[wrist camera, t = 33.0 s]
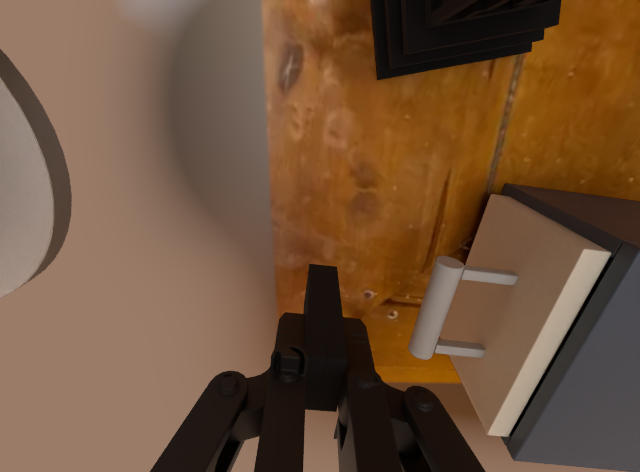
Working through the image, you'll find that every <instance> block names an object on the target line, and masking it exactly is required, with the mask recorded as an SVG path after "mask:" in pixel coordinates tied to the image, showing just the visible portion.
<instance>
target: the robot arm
mask: <svg viewBox="0 0 640 472" xmlns="http://www.w3.org/2000/svg"><path fill="white" fill-rule="evenodd" d="M337 406H338V411H339V416H338V420H337V425H336V429H335V433H334V439H337V440H338V456H339V472H485V470H484V469H483V467H482V466H481V464H480V463H479V461H478V459H477V458H476V456H475V455H474V453H473V452H472V450H471V448H470V447H469V445H468V444H467V442H466V441H465V439H464V438H463V436H462V434H461V433H460V431H459V430H458V428H457V427H456V425H455V424H454V422H453V420H452V419H451V417H450V416H449V414H448V413H447V411H446V410H445V408H444V406H443V405H442V404H441V402H440V400H439V399H438V398H437V397H436V395H435V394H434V393H432V392H431V391H430V390H428V389H426V388H423V387H420V386H412V387H409V388H408V389H407V390H406V391H405V392H404V391H401V390H398V389H395V388H393V387H391V386H389V385H387V384H386V383H384V382H383V381H382V380H381V377H380V376H379V375H378V374H377V373H376V371H375V368H374V363H373V358H372V353H371V348H370V344H369V339H368V334H367V329H366V326H365V325H364V324H363V322H362V321H361V319H355V318H345V317H343V315H342V307H341V298H340V289H339V281H338V272H337V267H334V266H325V265H316V264H309V271H308V279H307V286H306V294H305V301H304V314H297V313H287V312H285V313H284V314H283V315H282V317H281V318H280V319H279V324H278V330H277V336H276V344H275V349H274V351H273V353H272V355H271V366H270V368H269V369H268V370H267V371H266V372H264V373H263V374H261V375H258V376H255V377H250V378H245V376H244V375H243V374H241V373H239V372H235V371H227V372H222V373H220V374H219V375H217V376H215V377H214V378H213V379H212V380H211V382H210V383H209V385H208V386H207V388H206V389H205V391H204V392H203V393H202V395H201V397H200V398H199V399H198V401H197V402H196V404H195V405H194V407H193V408H192V410H191V411H190V413H189V415H188V416H187V417H186V419H185V420H184V422H183V423H182V425H181V426H180V428H179V429H178V431H177V432H176V434H175V435H174V437H173V438H172V440H171V441H170V443H169V444H168V446H167V447H166V449H165V450H164V452H163V453H162V455H161V456H160V457H159V459H158V461H157V462H156V463H155V465H154V466H153V468H152V469H151V471H150V472H230V471H231V469H232V467H233V465H234V463H235V461H236V458H237V456H238V454H239V452H240V449H241V447H242V445H243V443H244V440H247V439H250V438H254V437H258V436H260V437H259V444H258V450H257V456H256V462H255V469H254V472H303V454H304V423H305V409H308V410H320V411H334V412H336V410H337Z"/></svg>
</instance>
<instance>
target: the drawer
mask: <svg viewBox="0 0 640 472" xmlns="http://www.w3.org/2000/svg"><path fill="white" fill-rule="evenodd" d="M610 255H611V252H610V251H608V250H606V249H604V248H603V247H601V246H599V245H597V244H595V243H593V242H592V241H590V240H588V239H586V238H584V237H582V236H581V235H579V234H577V233H575V232H573V231H571V230H570V229H568V228H566V227H564V226H562V225H561V224H559V223H557V222H555V221H553V220H551V219H550V218H548V217H546V216H544V215H542V214H540V213H539V212H537V211H535V210H533V209H531V208H529V207H528V206H526V205H524V204H522V203H520V202H518V201H517V200H515V199H513V198H511V197H509V196H503V195H496V194H491V195H490V198H489V201H488V203H487V206H486V209H485V212H484V214H483V217H482V220H481V223H480V225H479V228H478V231H477V234H476V237H475V239H474V242H473V245H472V248H471V250H470V253H469V256H468V259H467V261H466V264H465V265H464V264H463V263H462V262H460V261H459V260H457V259H455V258H452V257H448V256H438V257H437V258H436V260H435V263H434V266H433V269H432V273H431V276H430V279H429V282H428V285H427V288H426V292H425V295H424V298H423V301H422V304H421V307H420V311H419V314H418V317H417V320H416V323H415V326H414V330H413V333H412V336H411V339H410V342H409V345H408V348H409V351H410V352H411V354H412V355H414V356H415V357H417V358H419V359H429V358H431V357H432V355H433V352H434V353H440V354H448V355H449V357H450V359H451V361H452V363H453V365H454V367H455V369H456V371H457V373H458V375H459V378H460V380H461V382H462V384H463V386H464V388H465V390H466V392H467V394H468V396H469V398H470V400H471V402H472V404H473V406H474V409H475V411H476V413H477V415H478V417H479V419H480V421H481V423H482V425H483V427H484V429H485V431H486V433H487V435H494V436H504V437H508V436H509V434H510V432H511V430H512V429H513V427H514V425H515V423H516V422H517V420H518V418H519V416H520V415H521V413H522V411H523V410H524V412H525V413H526V411H527V409H528V407H529V406H530V404H531V402H532V400H533V399H534V397H535V395H536V393H537V392H538V390H539V388H540V386H541V385H542V383H543V381H544V379H545V378H546V376H547V374H546V373H544V372H545V370H546V368H547V367H548V365H549V363H550V361H551V360H552V358H553V356H554V354H555V353H556V351H557V349H558V347H559V345H560V344H561V342H562V340H563V338H564V337H565V335H566V333H567V331H568V330H569V328H570V326H571V324H572V322H573V321H574V319H575V317H576V315H577V314H578V312H579V310H580V308H581V307H582V305H583V303H584V301H585V299H586V298H587V296H588V294H589V292H590V291H591V289H592V287H593V285H594V284H595V282H596V280H597V278H598V276H599V275H600V273H601V272H602V273H603V274H605V273H606V271H607V269H608V267H609V266H610V264H611V262H612V260H613V259H614V258H612V257H611V256H610ZM459 280H460V281H459ZM458 283H459V284H458ZM456 288H457V289H456ZM455 291H456V292H455ZM454 294H455V295H454ZM452 299H453V300H452ZM451 302H452V303H451ZM450 305H451V306H450ZM448 310H449V311H448ZM447 313H448V314H447ZM446 316H447V317H446ZM443 324H444V325H443ZM442 327H443V328H442ZM439 335H440V338H441V339H438V338H439Z"/></svg>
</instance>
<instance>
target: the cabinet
mask: <svg viewBox="0 0 640 472" xmlns="http://www.w3.org/2000/svg"><path fill="white" fill-rule="evenodd" d="M501 195H503V196H509V197H511V198H513V199H515V200H517V201H518V202H520V203H522V204H524V205H526V206H528V207H529V208H531V209H533V210H535V211H537V212H539V213H540V214H542V215H544V216H546V217H548V218H550V219H551V220H553V221H555V222H557V223H559V224H561V225H562V226H564V227H566V228H568V229H570V230H571V231H573V232H575V233H577V234H579V235H581V236H582V237H584V238H586V239H588V240H590V241H592V242H593V243H595V244H597V245H599V246H601V247H603V248H604V249H606V250H608V251H610V252H611V255H610V256H611V257H612V258H614V259H613V260H612V262H611V264H610V266H609V267H608V269H607V271H606V273H605V274H604V276H603V278H602V280H601V281H600V283H599V285H598V287H597V288H596V290H595V292H594V294H593V295H592V297H591V299H590V301H589V302H588V304H587V306H586V308H585V309H584V311H583V313H582V315H581V316H580V318H579V320H578V322H577V323H576V325H575V327H574V329H573V330H572V332H571V334H570V336H569V337H568V339H567V341H566V343H565V344H564V346H563V348H562V350H561V351H560V353H559V355H558V357H557V358H556V360H555V362H554V364H553V365H552V367H551V369H550V371H549V372H548V374H547V376H546V378H545V379H544V381H543V383H542V385H541V386H540V388H539V390H538V392H537V393H536V395H535V397H534V399H533V400H532V402H531V404H530V406H529V407H528V409H527V411H526V413H525V412H524V410H523V411H522V413H521V415H520V416H519V418H518V420H517V422H516V423H515V425H514V427H513V429H512V430H511V432H510V434H509V436H508V437H504V436H501V438H502V440H503V442H504V444H505V445H506V446H507V449H508V451H509V453H510V455H511V457H512V459H513V460H514V461H522V462H534V463H544V464H555V465H566V466H576V467H586V468H597V469H608V470H618V471H628V472H640V201H632V200H625V199H618V198H610V197H603V196H595V195H588V194H581V193H573V192H566V191H559V190H551V189H544V188H536V187H529V186H522V185H514V184H507V183H506V184H505V186H504V189H503V191H502V194H501Z"/></svg>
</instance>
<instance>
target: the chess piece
mask: <svg viewBox="0 0 640 472" xmlns="http://www.w3.org/2000/svg"><path fill="white" fill-rule="evenodd" d="M560 7H561V0H371V11H372V23H373V35H374V46H375V58H376V70H377V80H380V79H386V78H391V77H396V76H402V75H407V74H413V73H418V72H424V71H429V70H435V69H440V68H445V67H451V66H456V65H462V64H467V63H473V62H478V61H484V60H489V59H494V58H500V57H505V56H511V55H516V54H522V53H527V52H531V49H532V42H535V41H539V40H543V39H544V29H545V28H549V27H552V26H555V25H558V24H559V16H560Z"/></svg>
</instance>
